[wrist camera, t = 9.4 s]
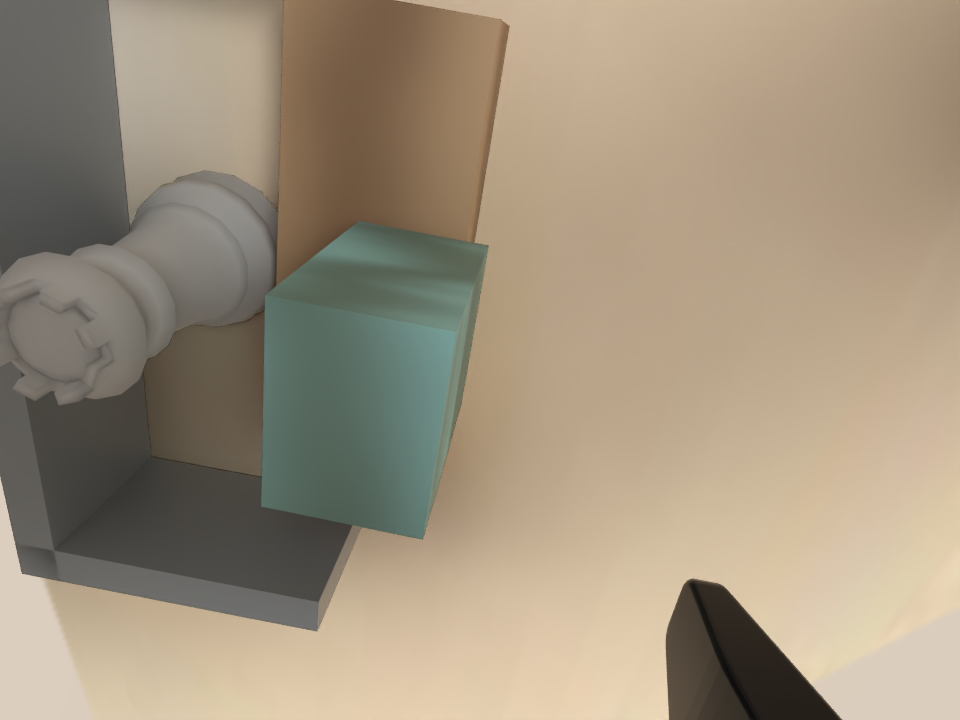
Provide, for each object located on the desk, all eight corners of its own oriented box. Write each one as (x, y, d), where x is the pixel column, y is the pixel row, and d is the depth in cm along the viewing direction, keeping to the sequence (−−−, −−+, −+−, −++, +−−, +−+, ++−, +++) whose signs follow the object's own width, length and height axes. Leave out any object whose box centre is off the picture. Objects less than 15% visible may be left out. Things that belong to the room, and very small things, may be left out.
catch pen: (415, -114, 15) (355, -188, 11) (363, 522, 24) (317, 631, 19) (45, -171, 16) (-164, -265, 11) (122, 477, 24) (21, 573, 19)
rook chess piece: (205, 134, 18) (-24, 180, 11) (328, 241, 19) (191, 348, 12) (132, 245, 20) (-107, 348, 13) (249, 338, 21) (87, 483, 14)
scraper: (533, 30, 16) (509, -2, 8) (454, 472, 22) (396, 703, 14) (328, -6, 17) (110, -73, 9) (305, 443, 23) (164, 654, 15)
